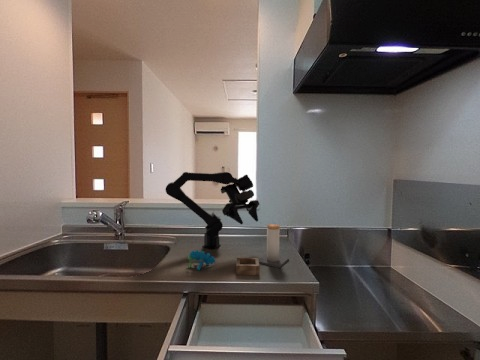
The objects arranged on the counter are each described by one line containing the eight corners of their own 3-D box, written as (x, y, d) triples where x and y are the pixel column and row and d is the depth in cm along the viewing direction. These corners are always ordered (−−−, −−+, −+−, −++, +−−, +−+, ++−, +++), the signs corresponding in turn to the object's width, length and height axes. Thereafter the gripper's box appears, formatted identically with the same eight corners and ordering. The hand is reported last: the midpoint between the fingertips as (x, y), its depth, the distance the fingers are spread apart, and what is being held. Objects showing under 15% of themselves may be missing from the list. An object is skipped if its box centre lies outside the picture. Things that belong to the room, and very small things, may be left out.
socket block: (236, 275, 99) (236, 265, 99) (236, 266, 107) (236, 257, 107) (259, 275, 99) (259, 265, 99) (258, 266, 107) (258, 257, 107)
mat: (256, 262, 111) (256, 260, 111) (266, 255, 120) (266, 254, 120) (279, 267, 106) (279, 265, 106) (288, 260, 115) (288, 258, 115)
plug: (264, 260, 112) (265, 226, 111) (269, 256, 116) (270, 223, 116) (276, 262, 110) (276, 227, 109) (280, 258, 114) (281, 225, 113)
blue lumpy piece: (220, 261, 108) (208, 248, 101) (215, 276, 104) (203, 263, 97) (196, 261, 112) (183, 248, 106) (191, 275, 108) (178, 263, 102)
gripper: (226, 185, 120) (242, 214, 113) (257, 183, 133) (274, 209, 125) (215, 201, 127) (230, 229, 119) (246, 198, 139) (261, 223, 131)
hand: (250, 222), depth 123 cm, fingers open, 9 cm apart
